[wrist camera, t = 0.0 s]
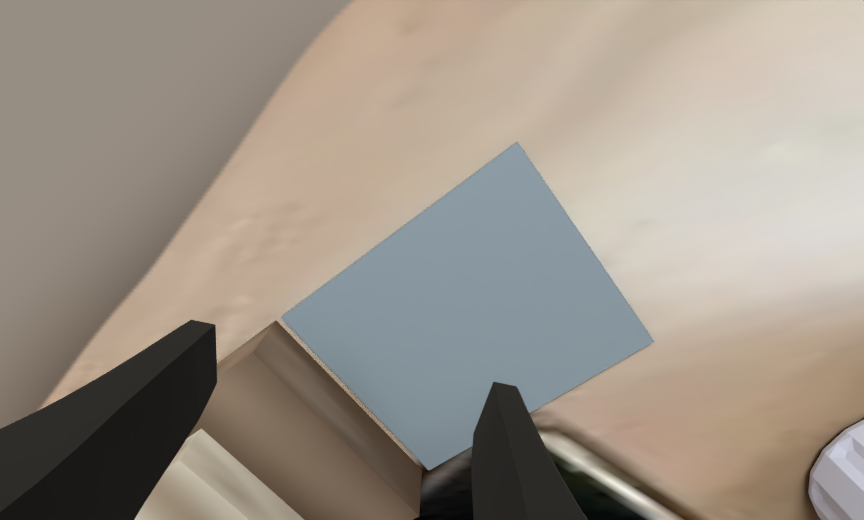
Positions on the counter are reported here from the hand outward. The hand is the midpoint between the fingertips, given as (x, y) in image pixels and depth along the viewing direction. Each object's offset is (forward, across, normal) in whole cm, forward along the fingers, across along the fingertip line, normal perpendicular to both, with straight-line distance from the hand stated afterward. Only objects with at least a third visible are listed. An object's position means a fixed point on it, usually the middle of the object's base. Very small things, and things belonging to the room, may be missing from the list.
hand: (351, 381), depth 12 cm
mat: (+10, -4, +5) cm, 12 cm away
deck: (+8, +4, +15) cm, 18 cm away
